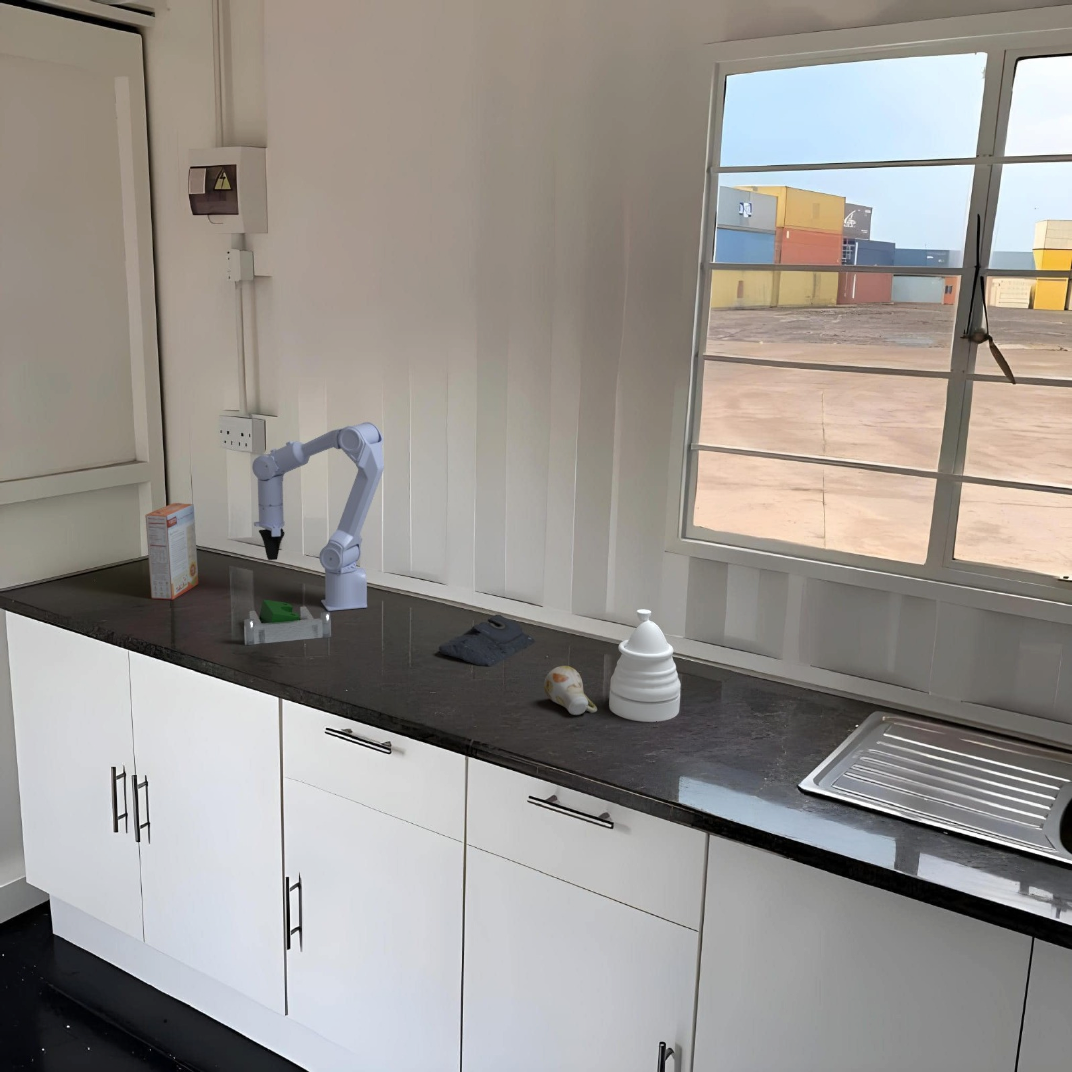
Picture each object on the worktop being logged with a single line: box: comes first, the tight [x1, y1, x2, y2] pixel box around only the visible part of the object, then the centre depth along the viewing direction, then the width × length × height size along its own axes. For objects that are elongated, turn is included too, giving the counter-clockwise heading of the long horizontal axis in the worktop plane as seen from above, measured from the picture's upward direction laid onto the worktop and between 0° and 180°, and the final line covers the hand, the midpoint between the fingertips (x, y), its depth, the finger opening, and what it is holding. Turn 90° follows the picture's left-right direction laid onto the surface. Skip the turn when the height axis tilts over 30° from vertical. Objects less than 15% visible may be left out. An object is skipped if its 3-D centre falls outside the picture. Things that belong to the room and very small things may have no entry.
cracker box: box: [145, 502, 199, 601], centre depth 251 cm, size 14×6×21 cm, turn 172°
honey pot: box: [608, 608, 682, 723], centre depth 189 cm, size 13×13×18 cm
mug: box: [542, 665, 598, 716], centre depth 190 cm, size 8×10×10 cm
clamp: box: [258, 599, 301, 624], centre depth 227 cm, size 12×6×9 cm, turn 19°
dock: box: [243, 606, 332, 646], centre depth 226 cm, size 18×14×5 cm
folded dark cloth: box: [438, 614, 536, 667], centre depth 221 cm, size 15×22×5 cm
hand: (272, 559), depth 250 cm, fingers closed
